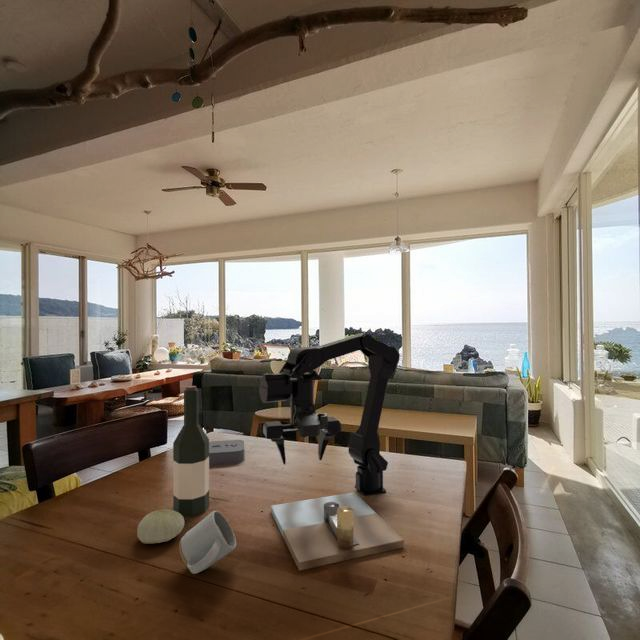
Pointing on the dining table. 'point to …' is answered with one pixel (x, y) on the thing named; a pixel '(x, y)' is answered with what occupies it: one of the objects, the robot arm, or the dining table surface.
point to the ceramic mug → (207, 542)
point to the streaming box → (226, 452)
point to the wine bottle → (191, 461)
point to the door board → (331, 531)
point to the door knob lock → (340, 523)
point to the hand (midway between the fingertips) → (302, 462)
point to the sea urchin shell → (160, 526)
